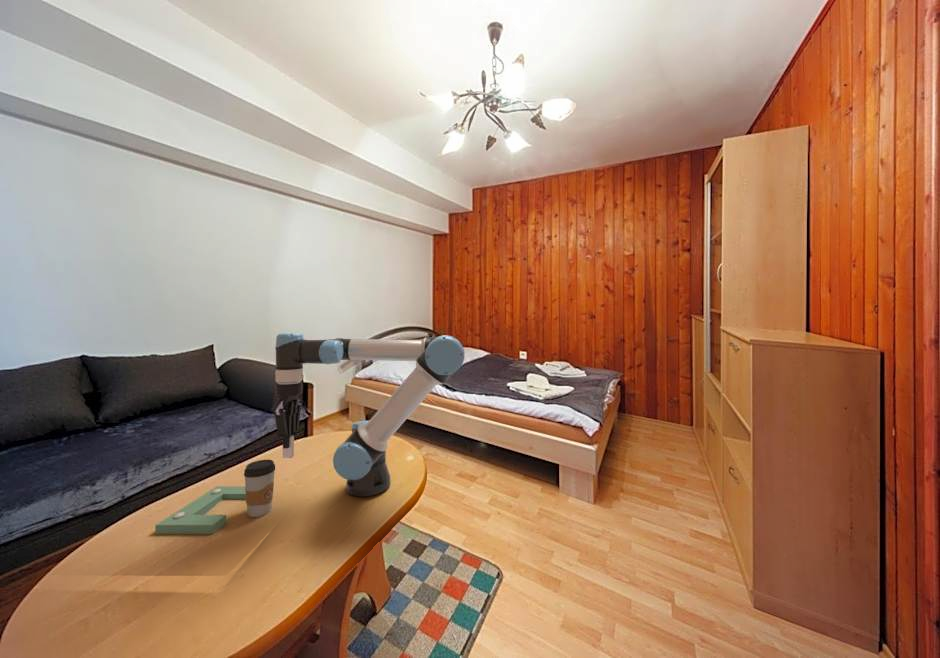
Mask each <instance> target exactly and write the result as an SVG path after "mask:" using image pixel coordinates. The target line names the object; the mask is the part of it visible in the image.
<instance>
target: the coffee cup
mask: <svg viewBox="0 0 940 658" xmlns="http://www.w3.org/2000/svg"><path fill="white" fill-rule="evenodd" d="M243 471H244V473H243V477H244V483H245V484H244V485H245V486H244V487H246V488H245V491H246V499H245V504H246V511H247V515H248V516H249V517H251V518H258V517H262V516H265V515H267V514H268V513H269V512H270V511H271V509H272V506H273V497H274V488H275V487H274V484H275V471H276V464H275V462H274V460H272V459H260V460H255V461H253V462H250V463H248V464H247V465H246V466H245V469H244V470H243Z"/></svg>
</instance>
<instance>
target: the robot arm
mask: <svg viewBox="0 0 940 658" xmlns="http://www.w3.org/2000/svg"><path fill="white" fill-rule="evenodd" d="M274 349H275V372H274V374H275V382H276V383H275V385H274V393H275V394H274V395H275V396H277V397H278V403H277V404H278V406H277V408H273V409H272V413H273V415H274V419H275V426H276V431H277V432H276V433H277V437H278V438H279V439H280V438H281V439H282V458H283V459H292V458H293V457H294V456H295V436H297V435H298V434H299V432H298V431H299V427H300V420H301V419H300V418H301V413H302V412H301V411H302V407H303V403H304V400H303V399H300V396H299V395H302V393H303V385H304V384H303V382H302V381H303V379H304V377H303V376H304V375H303V374H304V373H303V372H304V371H303V369H304V368H303V365H305V364H315V365H317V364H319V365H321V364H324V365H333V364H339V363H340V362H341V361H383V362H384V361H387V362H388V361H390V362H391V361H392V362H394V361H395V362H399V361H400V362H415V368H414V369H413V371H411V373H410V374H409V375H408V376H407V377H406V378H405V379H404V380H403V382H402V383H401V384H400V385H399V386H398V387H397V389H395V391H394V392H393V393H392V394H391V395H390V396H389V398H388V399H387V400H386V401H385V402H384V403H383V405H382V406H380V408H379V409H378V410H377V411H376V412H375V414H373V416H372V417H371V418H370V419H369V420H359V421H355V422H354V423H352V426H351V429H350V430H351V433H350V435H349V436H348V437H347V438H346V440H344V442H342V444H340V445H339V446H338V447H337V448H336V450H335V451H334V454H333V457H332V464H333V467H334V470H335V472H336V473H337V475H338V476H339V477H341V478H343V479H345V480H346V482H345V483H346V484H345V485H346V486H345V487H346V488H345V489H346V490H345V491H346V492H347V493H348V494H350V495H351V496H355V497H369V496H375V495H377V494H380V493H382V492H385V491H386V490H387V489H389V487H390V486H391V474H390V472H389V468H388V465H387V462H386V456H387V455H386V454H387V451H386V450H388V441H389V440H390V439H391V437H392V436H393V435H394V434H395V433H396V432H397V431H398V429H400V427H401V426H402V425H403V424H404V423H405V422H406V420H407V419H408V418H409V417H410V416H411V414H412V413H413V412H414V411H415V410H416V409H417V408H418V407H419V405H420V404H421V403H422V402H423V401H424V400H425V399H426V398H427V396H428V395H429V394H430V393H431V392H432V391H433V390H434V388H435V387H436V386H438V385H440V386H441V385H445V383H446V382H447V380H449V379H450V378H451V376H452V375H453V374H455V373H456V372H457V371H459V370H460V368H461V367H462V365H463V363H464V360H465V350H464V346H463V344H462V343H461V341H460V340H459V339H458V338H456V337H455V336H452V335H447V334H445V335H444V334H443V335H439V336H435V337H424V338H422V339H376V338H375V339H374V338H373V339H372V338H368V339H367V338H366V339H365V338H363V339H362V338H341V337H340V338H339V337H337V338H333V339H332V338H330V339H329V338H328V339H305V338H304V335H303V333H297V332H296V333H294V332H293V333H290V332H289V333H286V332H285V333H278V334H277V335H276V338H275V348H274Z"/></svg>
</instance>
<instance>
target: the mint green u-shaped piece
mask: <svg viewBox="0 0 940 658" xmlns="http://www.w3.org/2000/svg"><path fill="white" fill-rule="evenodd" d="M245 488H246V487H245V486H215V487H213V488H212V489H210V490H209V491H207V492H206V493H204V494H202V495H201V496H199V497H198V498H196V499H195V500H193V501H191V502H189V503H188V504H186V505H185V506H183V507H182V508H180V509H178V510H177V511H176V512H174V513H172V514H171V515H169V516H168V517H166V518H164V519H163V520H161V521H160V522H158V523H156V524H155V535H213V534H216V532H217V531H219V530H220V529H222V527H224V526H225V525H226V524H227V514H207V513H208V512H210V511H211V509H213V508H215V506H217V505H218V504H219V503H221V502H223V500H246V491H245Z"/></svg>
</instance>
